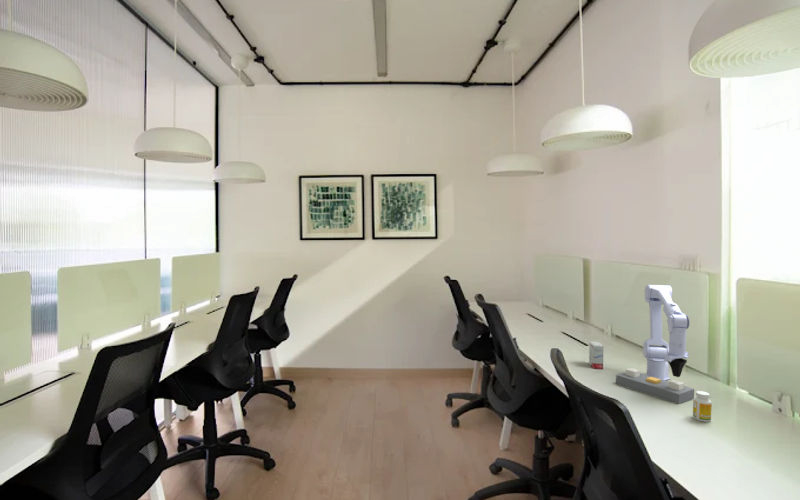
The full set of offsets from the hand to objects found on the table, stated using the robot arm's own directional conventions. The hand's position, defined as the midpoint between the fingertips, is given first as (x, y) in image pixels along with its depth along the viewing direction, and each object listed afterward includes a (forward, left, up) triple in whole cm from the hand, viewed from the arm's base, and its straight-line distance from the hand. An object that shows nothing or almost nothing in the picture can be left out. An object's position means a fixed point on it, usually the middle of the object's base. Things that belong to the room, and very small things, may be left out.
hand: (676, 376), depth 168 cm
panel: (0, -9, -9) cm, 13 cm away
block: (0, -18, -6) cm, 19 cm away
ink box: (-9, -42, -9) cm, 44 cm away
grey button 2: (0, 0, -6) cm, 6 cm away
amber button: (0, -9, -7) cm, 12 cm away
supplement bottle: (+13, +15, -9) cm, 22 cm away
